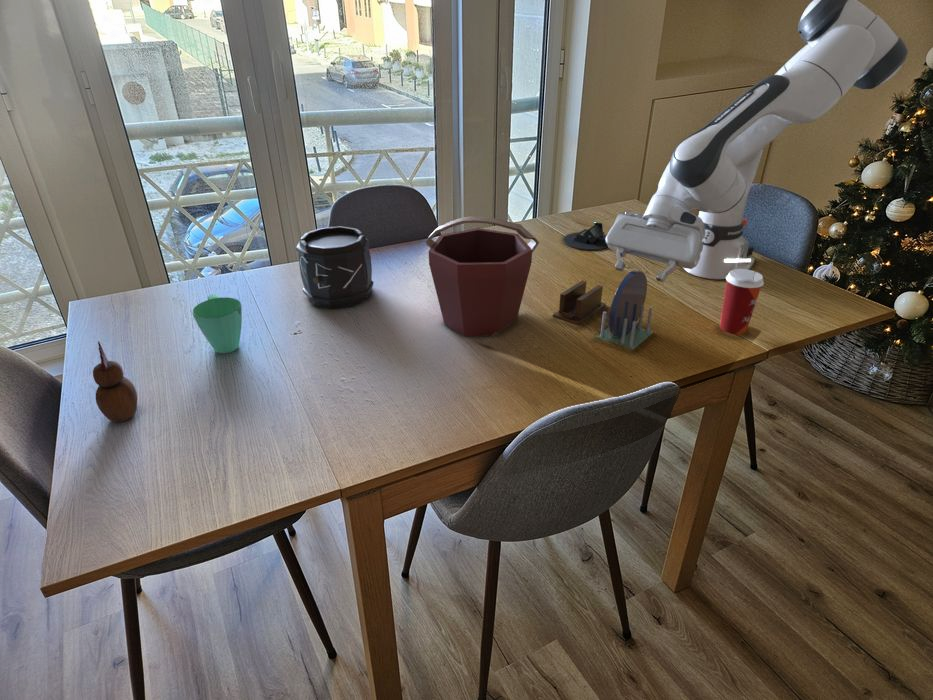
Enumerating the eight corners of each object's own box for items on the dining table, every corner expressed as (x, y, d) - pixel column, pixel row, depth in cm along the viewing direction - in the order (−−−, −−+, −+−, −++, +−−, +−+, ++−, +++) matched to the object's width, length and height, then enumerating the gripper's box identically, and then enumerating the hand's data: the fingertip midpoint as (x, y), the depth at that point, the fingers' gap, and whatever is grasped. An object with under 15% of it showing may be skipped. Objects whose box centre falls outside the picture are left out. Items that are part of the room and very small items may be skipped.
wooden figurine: (114, 406, 117) (89, 337, 109) (146, 404, 117) (122, 335, 109) (99, 427, 111) (71, 357, 103) (132, 426, 111) (107, 355, 103)
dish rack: (616, 323, 143) (620, 296, 139) (652, 335, 138) (657, 307, 134) (595, 340, 136) (598, 312, 133) (632, 353, 131) (636, 324, 128)
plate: (637, 320, 142) (645, 260, 134) (642, 321, 141) (650, 261, 133) (605, 347, 132) (612, 284, 124) (610, 349, 131) (617, 286, 123)
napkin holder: (580, 301, 153) (583, 277, 150) (605, 309, 149) (608, 284, 146) (552, 320, 145) (554, 295, 141) (578, 329, 141) (580, 303, 138)
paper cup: (753, 341, 135) (768, 283, 128) (716, 338, 137) (730, 280, 129) (746, 324, 142) (761, 268, 135) (712, 322, 143) (724, 266, 136)
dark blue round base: (601, 254, 180) (603, 236, 177) (555, 244, 187) (556, 227, 184) (620, 238, 191) (622, 221, 188) (575, 230, 198) (577, 213, 195)
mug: (253, 352, 133) (244, 311, 128) (206, 363, 129) (195, 322, 124) (242, 324, 144) (233, 285, 139) (197, 334, 141) (187, 294, 136)
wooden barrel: (288, 304, 153) (278, 245, 145) (328, 277, 168) (320, 221, 160) (350, 316, 147) (343, 255, 139) (386, 287, 162) (381, 229, 154)
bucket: (544, 311, 149) (550, 210, 136) (511, 353, 132) (514, 243, 119) (453, 293, 158) (451, 198, 145) (411, 331, 141) (405, 227, 128)
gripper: (617, 202, 135) (591, 257, 133) (709, 220, 124) (682, 280, 122) (624, 216, 140) (599, 269, 138) (713, 235, 129) (687, 293, 127)
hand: (638, 275), depth 130 cm, fingers open, 8 cm apart
